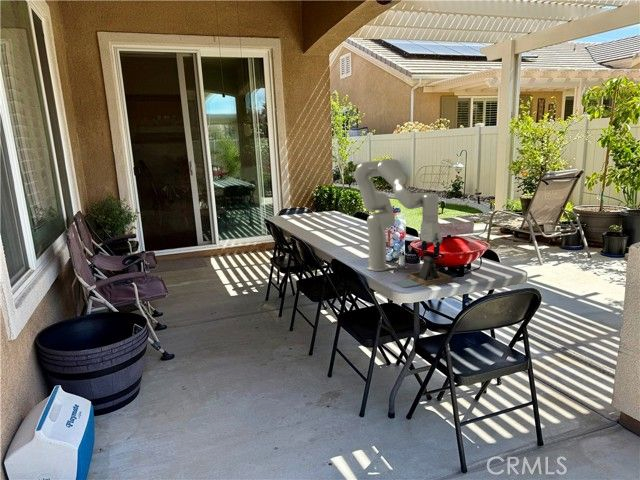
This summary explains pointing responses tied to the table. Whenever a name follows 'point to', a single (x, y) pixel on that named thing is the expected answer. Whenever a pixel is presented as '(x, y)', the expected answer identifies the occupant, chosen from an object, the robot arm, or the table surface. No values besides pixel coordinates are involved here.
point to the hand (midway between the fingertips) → (430, 252)
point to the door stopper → (428, 269)
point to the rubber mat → (406, 283)
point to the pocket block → (441, 280)
